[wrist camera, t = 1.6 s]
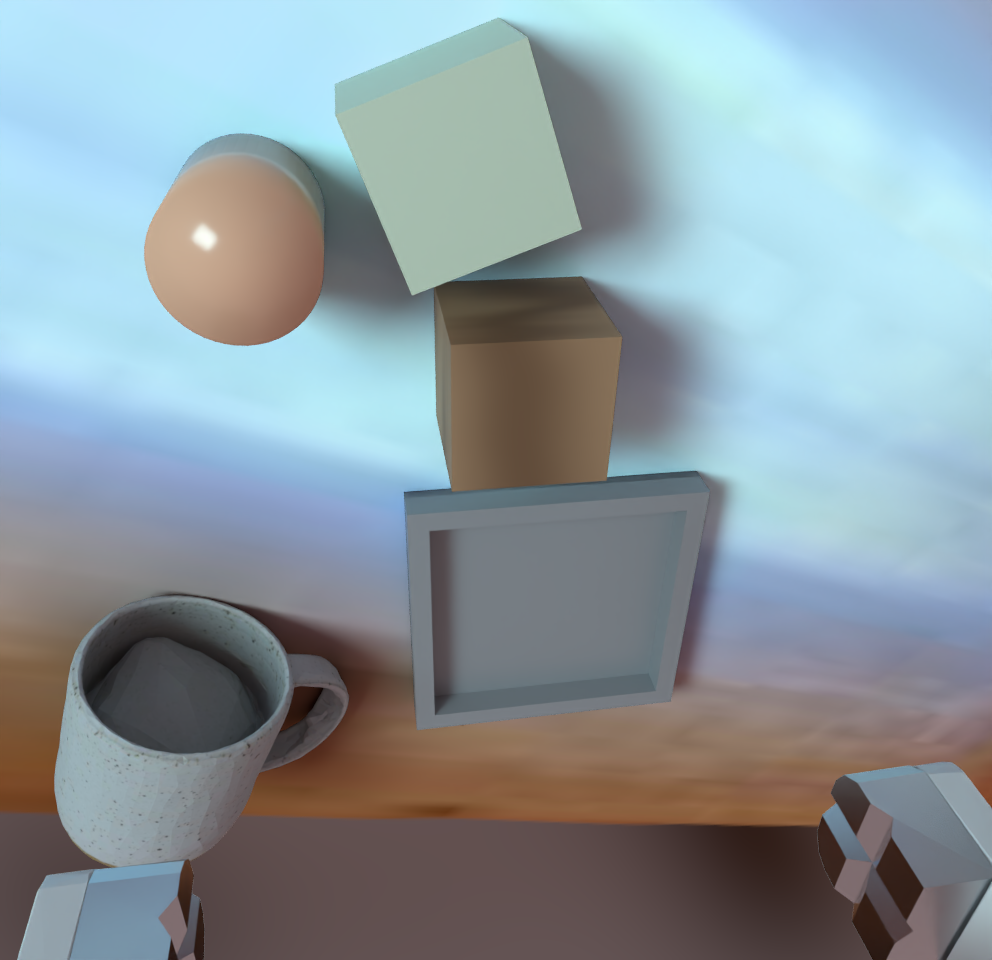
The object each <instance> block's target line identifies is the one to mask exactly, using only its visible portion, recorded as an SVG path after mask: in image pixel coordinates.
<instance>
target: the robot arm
mask: <svg viewBox="0 0 992 960" xmlns="http://www.w3.org/2000/svg"><path fill="white" fill-rule="evenodd" d="M831 794H832V796H833V798H834V799H835V801H836V804H835V805H834V806H832V807H831V808H830V809H829V810H828V811H826V812H825V813H824V814H823V815H822V818H821V821H820V824H819V827H818V830H817V837H818V847H819V854H820V857H821V860H822V863H823V866H824V869H825V871H826V873H827V875H828V877H829V879H830V881H831V883H832V885H833V887H834V888H835V889H836V890H837V891H839V892H840V893H841V894H842V895H844V896H845V897H847V898H848V899H849V900H851V901H852V902H853V903H854V909H853V916H852V923H853V925H854V926H855V928H856V930H857V932H858V934H859V936H860V938H861V939H862V941H863V943H864V945H865V947H866V949H867V950H868V952H869V954H870V956H871V958H872V960H992V808H991V807H990V806H989V804H988V803H987V802H986V800H985V799H984V798H983V796H982V795H981V794H980V793H979V791H978V790H977V789H976V787H975V786H974V785H973V783H972V782H971V781H970V779H969V778H968V777H967V776H966V774H965V773H964V772H963V771H962V770H961V769H960V768H959V767H958V766H956V765H955V764H953V763H952V762H938V763H931V764H924V765H918V766H902V767H896V768H889V769H882V770H875V771H868V772H861V773H854V774H848V775H843V776H842V777H840V778H839V779H837V780H836V782H835V784H834V786H833V789H832V791H831ZM193 879H194V874H193V871H192V867H191V864H190V861H189V859H183V860H174V861H166V862H157V863H149V864H140V865H131V866H123V867H114V868H106V869H92V870H84V871H77V872H70V873H62V874H53V875H47V876H46V878H45V880H44V881H43V883H42V885H41V886H40V888H39V890H38V891H37V894H36V898H35V901H34V905H33V908H32V911H31V915H30V918H29V922H28V925H27V928H26V932H25V935H24V939H23V942H22V945H21V949H20V952H19V956H18V959H17V960H204V935H205V933H204V931H205V928H204V918H203V910H202V906H201V901H200V898H199V897H197V896H195V895H193V894H192V888H193Z"/></svg>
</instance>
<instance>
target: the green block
mask: <svg viewBox="0 0 992 960" xmlns="http://www.w3.org/2000/svg"><path fill="white" fill-rule="evenodd" d="M335 115H336V117H337V120H338V122H339V125H340V127H341V129H342V132H343V134H344V136H345V139H346V141H347V143H348V146H349V148H350V150H351V153H352V155H353V158H354V160H355V162H356V165H357V167H358V169H359V172H360V174H361V176H362V179H363V181H364V184H365V186H366V188H367V191H368V193H369V195H370V198H371V200H372V202H373V205H374V207H375V209H376V212H377V214H378V217H379V219H380V221H381V224H382V226H383V228H384V231H385V233H386V235H387V238H388V240H389V242H390V245H391V247H392V250H393V252H394V254H395V257H396V259H397V261H398V264H399V266H400V268H401V271H402V273H403V276H404V278H405V280H406V283H407V285H408V287H409V290H410V292H411V294H412V296H413V295H415V294H418V293H420V292H423V291H425V290H428V289H431V288H433V287H436V286H438V285H441V284H443V283H446V282H449V281H451V280H454V279H456V278H459V277H461V276H464V275H466V274H469V273H472V272H474V271H477V270H479V269H482V268H484V267H487V266H490V265H492V264H495V263H497V262H500V261H502V260H505V259H508V258H510V257H513V256H515V255H518V254H520V253H523V252H526V251H528V250H531V249H533V248H536V247H538V246H541V245H544V244H546V243H549V242H551V241H554V240H556V239H559V238H561V237H564V236H567V235H569V234H572V233H574V232H577V231H579V230H582V228H581V224H580V221H579V217H578V214H577V210H576V206H575V203H574V199H573V196H572V192H571V189H570V185H569V182H568V178H567V175H566V171H565V167H564V164H563V160H562V157H561V153H560V150H559V146H558V143H557V139H556V136H555V132H554V129H553V125H552V121H551V118H550V114H549V111H548V107H547V104H546V100H545V97H544V93H543V90H542V86H541V82H540V79H539V75H538V72H537V68H536V65H535V61H534V58H533V54H532V51H531V47H530V44H529V40H528V37H527V36H525V35H524V34H522V33H521V32H519V31H518V30H516V29H515V28H513V27H512V26H510V25H509V24H507V23H506V22H504V21H503V20H501V19H500V18H496V19H494V20H491V21H489V22H486V23H484V24H481V25H479V26H477V27H474V28H472V29H469V30H467V31H464V32H462V33H459V34H457V35H454V36H452V37H450V38H447V39H445V40H442V41H440V42H437V43H435V44H432V45H430V46H427V47H425V48H422V49H420V50H418V51H415V52H413V53H410V54H408V55H405V56H403V57H400V58H398V59H395V60H393V61H390V62H388V63H386V64H383V65H381V66H378V67H376V68H373V69H371V70H368V71H366V72H363V73H361V74H358V75H356V76H354V77H351V78H349V79H346V80H344V81H341V82H339V83H336V84H335Z"/></svg>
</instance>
